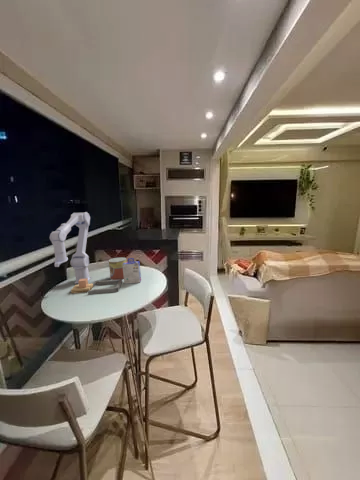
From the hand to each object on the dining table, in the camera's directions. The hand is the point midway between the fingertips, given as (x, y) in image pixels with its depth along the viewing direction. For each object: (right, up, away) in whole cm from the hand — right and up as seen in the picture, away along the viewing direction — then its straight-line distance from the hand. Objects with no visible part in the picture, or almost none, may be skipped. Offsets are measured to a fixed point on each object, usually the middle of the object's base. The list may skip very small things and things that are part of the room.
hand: (63, 275), depth 146 cm
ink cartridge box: (+37, -5, +11) cm, 39 cm away
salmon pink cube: (+11, -6, +2) cm, 13 cm away
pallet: (+10, -9, +2) cm, 14 cm away
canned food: (+27, -4, +21) cm, 34 cm away
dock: (+24, -7, +3) cm, 25 cm away
